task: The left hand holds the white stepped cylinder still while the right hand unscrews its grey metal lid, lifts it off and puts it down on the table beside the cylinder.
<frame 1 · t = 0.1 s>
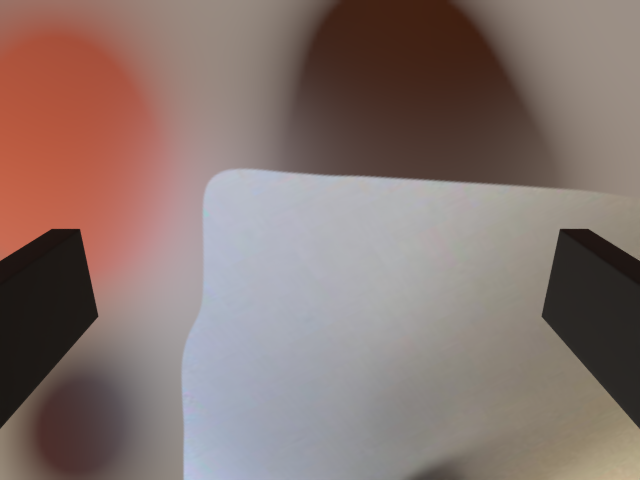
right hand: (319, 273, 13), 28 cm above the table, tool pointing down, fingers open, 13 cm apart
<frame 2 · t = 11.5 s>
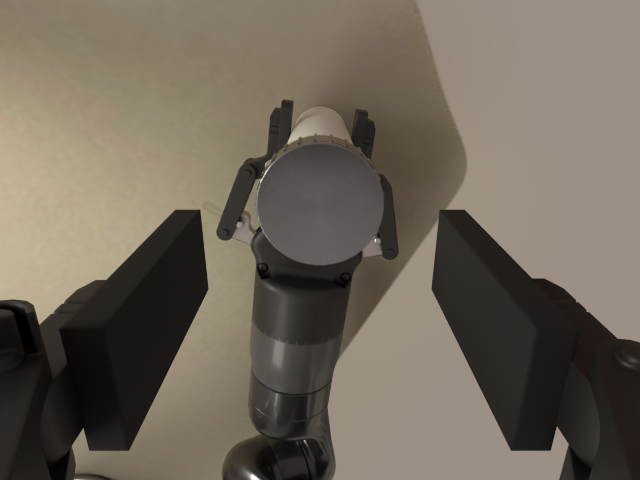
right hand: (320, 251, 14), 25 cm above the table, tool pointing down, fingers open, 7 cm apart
left hand: (324, 107, 30), fingers closed on white stepped cylinder, 4 cm apart
white stepped cylinder: (319, 133, 37), on the table, touching left hand
lid: (320, 204, 19), point 20 cm above the table, screwed on, not yet turned
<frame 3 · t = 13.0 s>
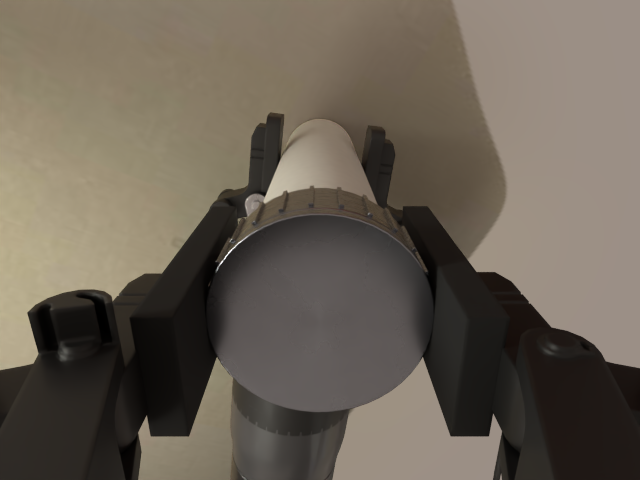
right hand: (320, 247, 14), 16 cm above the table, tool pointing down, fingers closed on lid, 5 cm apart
white stepped cylinder: (319, 153, 29), on the table, touching left hand
lid: (319, 314, 10), point 20 cm above the table, screwed on, not yet turned, touching right hand
when the right hand's fingers open (0 cm above the table, at t = 24.0 s): lid drops 2 cm, point 2 cm above the table.
when the left hand's fingers open (6 cm above the table, at t = 24.6 s): white stepped cylinder stays where it is, on the table.
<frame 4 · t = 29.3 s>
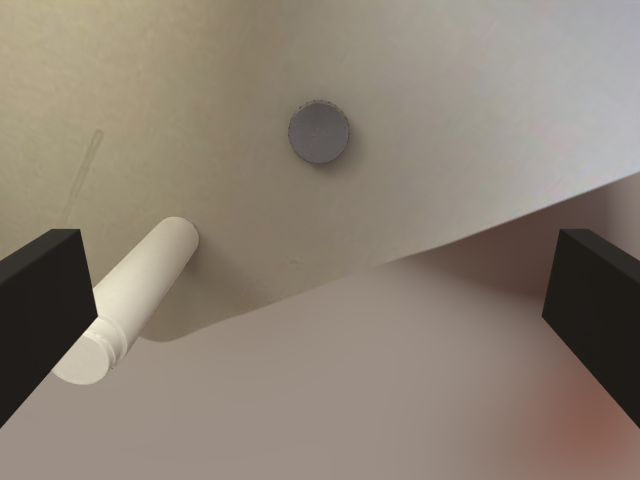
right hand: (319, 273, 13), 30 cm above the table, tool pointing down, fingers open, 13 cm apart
white stepped cylinder: (177, 237, 45), on the table
lid: (318, 133, 39), point 2 cm above the table, off its thread
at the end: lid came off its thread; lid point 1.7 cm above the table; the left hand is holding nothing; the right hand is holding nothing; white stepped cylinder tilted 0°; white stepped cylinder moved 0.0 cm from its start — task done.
